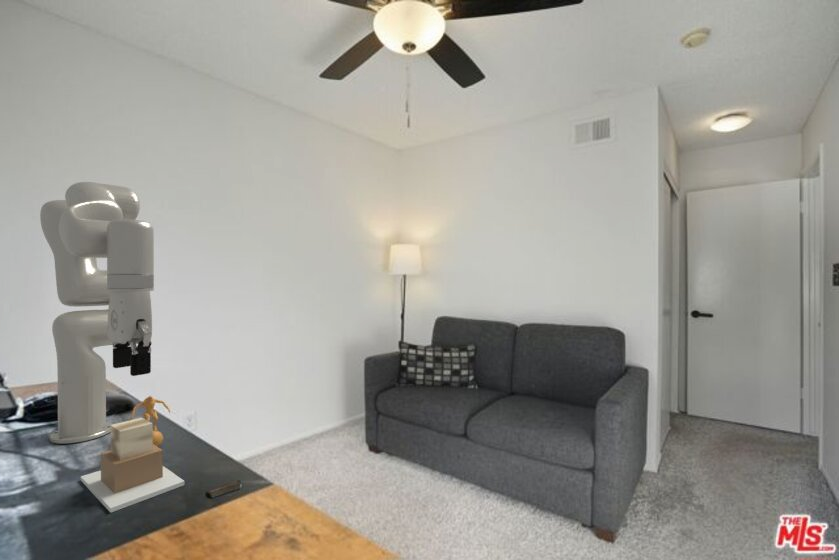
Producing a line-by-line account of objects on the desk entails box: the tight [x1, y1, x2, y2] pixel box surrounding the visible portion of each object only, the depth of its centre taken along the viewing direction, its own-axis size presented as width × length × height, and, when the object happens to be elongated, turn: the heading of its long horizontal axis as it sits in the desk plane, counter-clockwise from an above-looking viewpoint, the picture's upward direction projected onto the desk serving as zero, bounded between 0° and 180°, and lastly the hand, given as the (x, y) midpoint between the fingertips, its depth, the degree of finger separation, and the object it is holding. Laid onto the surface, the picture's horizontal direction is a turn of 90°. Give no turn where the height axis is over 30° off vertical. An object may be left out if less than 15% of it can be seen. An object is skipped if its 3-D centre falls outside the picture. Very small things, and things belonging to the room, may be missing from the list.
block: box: [205, 479, 242, 499], centre depth 79 cm, size 4×6×2 cm, turn 137°
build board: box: [80, 444, 185, 514], centre depth 82 cm, size 18×12×6 cm, turn 52°
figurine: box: [129, 395, 171, 447], centre depth 99 cm, size 8×6×12 cm
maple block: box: [110, 417, 154, 460], centre depth 82 cm, size 5×5×5 cm
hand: (131, 370), depth 82 cm, fingers open, 9 cm apart
